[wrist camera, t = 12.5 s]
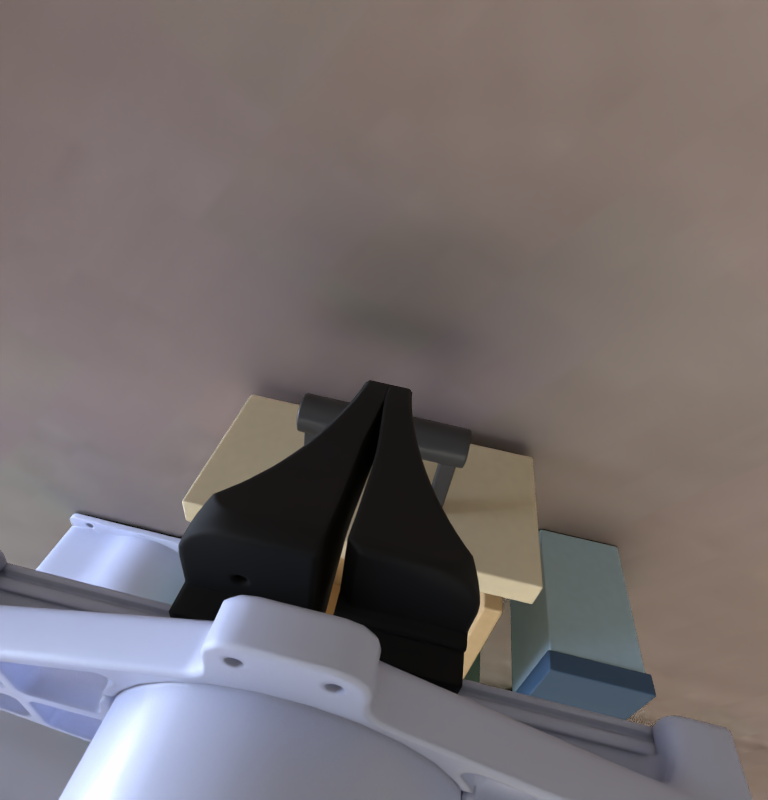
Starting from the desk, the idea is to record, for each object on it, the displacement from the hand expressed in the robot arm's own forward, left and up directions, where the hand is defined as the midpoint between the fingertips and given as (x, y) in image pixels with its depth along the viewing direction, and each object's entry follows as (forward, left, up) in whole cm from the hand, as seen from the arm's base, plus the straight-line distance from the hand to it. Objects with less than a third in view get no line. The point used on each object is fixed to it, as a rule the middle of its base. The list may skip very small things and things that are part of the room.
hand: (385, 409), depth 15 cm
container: (+11, -14, -6) cm, 19 cm away
